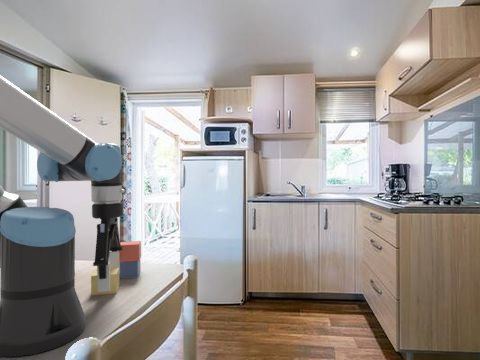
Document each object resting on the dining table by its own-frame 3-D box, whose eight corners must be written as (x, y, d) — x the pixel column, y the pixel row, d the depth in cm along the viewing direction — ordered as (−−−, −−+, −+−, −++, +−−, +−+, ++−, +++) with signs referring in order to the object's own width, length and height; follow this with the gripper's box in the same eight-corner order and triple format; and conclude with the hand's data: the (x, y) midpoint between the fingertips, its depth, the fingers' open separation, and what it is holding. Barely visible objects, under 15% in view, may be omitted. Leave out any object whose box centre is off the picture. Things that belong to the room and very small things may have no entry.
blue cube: (137, 278, 95) (137, 261, 95) (116, 279, 94) (116, 262, 94) (140, 272, 101) (140, 256, 101) (120, 273, 100) (120, 257, 100)
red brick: (139, 260, 96) (139, 244, 96) (118, 262, 94) (118, 245, 94) (141, 256, 101) (140, 240, 102) (121, 257, 100) (121, 241, 100)
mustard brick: (116, 293, 82) (116, 274, 82) (91, 295, 80) (91, 275, 80) (119, 286, 87) (119, 268, 87) (95, 288, 86) (95, 269, 86)
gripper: (113, 206, 73) (116, 298, 73) (129, 198, 97) (131, 267, 98) (77, 207, 71) (80, 301, 72) (103, 199, 96) (105, 269, 96)
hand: (109, 282), depth 85 cm, fingers open, 13 cm apart
